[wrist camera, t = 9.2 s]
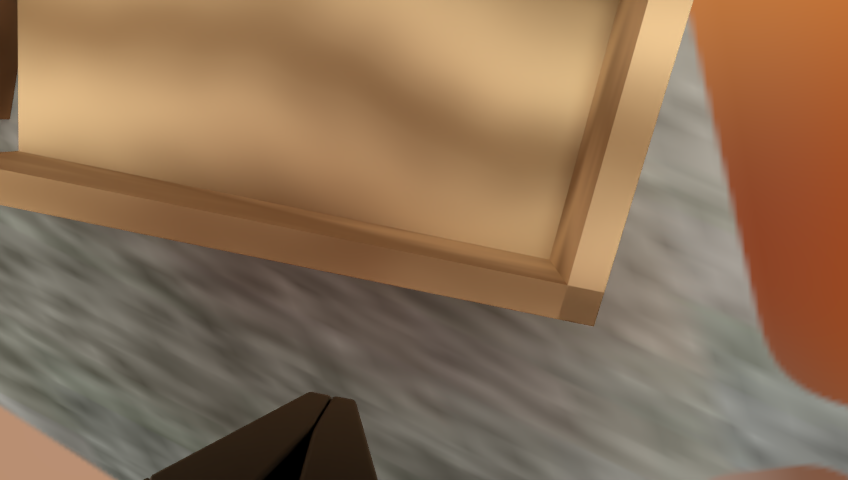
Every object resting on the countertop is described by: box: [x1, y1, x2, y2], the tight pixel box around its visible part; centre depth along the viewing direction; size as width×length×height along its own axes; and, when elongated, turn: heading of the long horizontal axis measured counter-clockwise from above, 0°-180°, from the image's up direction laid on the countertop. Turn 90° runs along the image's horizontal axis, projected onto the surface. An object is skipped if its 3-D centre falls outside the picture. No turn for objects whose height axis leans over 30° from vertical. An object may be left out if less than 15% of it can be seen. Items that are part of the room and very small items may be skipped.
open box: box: [0, 0, 693, 326], centre depth 17 cm, size 12×22×4 cm, turn 79°
